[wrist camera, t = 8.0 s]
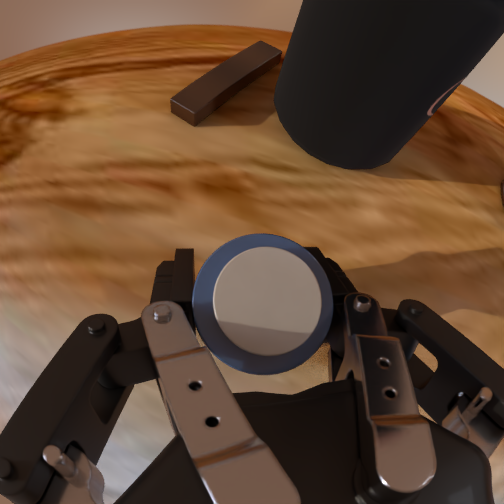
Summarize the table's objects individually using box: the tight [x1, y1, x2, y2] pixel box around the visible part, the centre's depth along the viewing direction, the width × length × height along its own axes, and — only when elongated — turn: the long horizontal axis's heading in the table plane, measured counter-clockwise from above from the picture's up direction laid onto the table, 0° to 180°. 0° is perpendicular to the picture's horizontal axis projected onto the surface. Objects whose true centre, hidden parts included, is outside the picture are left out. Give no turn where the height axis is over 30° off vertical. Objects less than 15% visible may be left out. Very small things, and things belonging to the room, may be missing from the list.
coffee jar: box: [274, 0, 504, 169], centre depth 14 cm, size 11×11×18 cm
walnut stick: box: [170, 41, 282, 127], centre depth 21 cm, size 11×2×2 cm, turn 144°
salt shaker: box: [192, 234, 333, 375], centre depth 13 cm, size 4×4×8 cm
